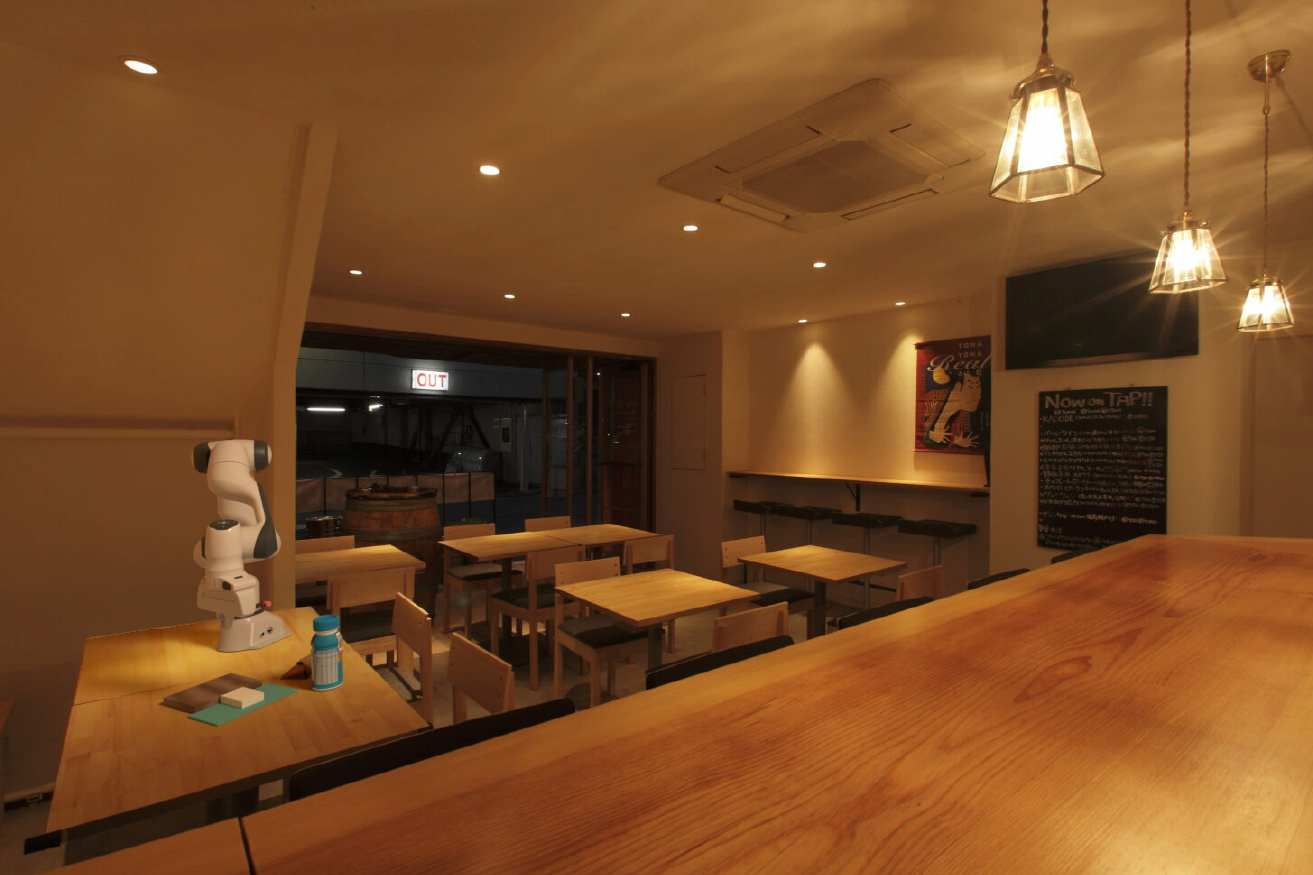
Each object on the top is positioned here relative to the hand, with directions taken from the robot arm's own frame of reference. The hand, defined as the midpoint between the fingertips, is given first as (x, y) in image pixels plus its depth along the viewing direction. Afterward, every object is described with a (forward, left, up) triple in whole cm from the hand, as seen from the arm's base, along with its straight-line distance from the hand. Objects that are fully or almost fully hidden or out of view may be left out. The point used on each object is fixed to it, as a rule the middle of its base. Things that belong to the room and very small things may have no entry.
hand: (226, 627), depth 175 cm
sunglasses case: (-23, +2, -20) cm, 30 cm away
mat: (+1, +9, -20) cm, 22 cm away
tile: (+1, +8, -19) cm, 21 cm away
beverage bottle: (-16, +20, -20) cm, 32 cm away
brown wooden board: (+1, -4, -20) cm, 20 cm away
